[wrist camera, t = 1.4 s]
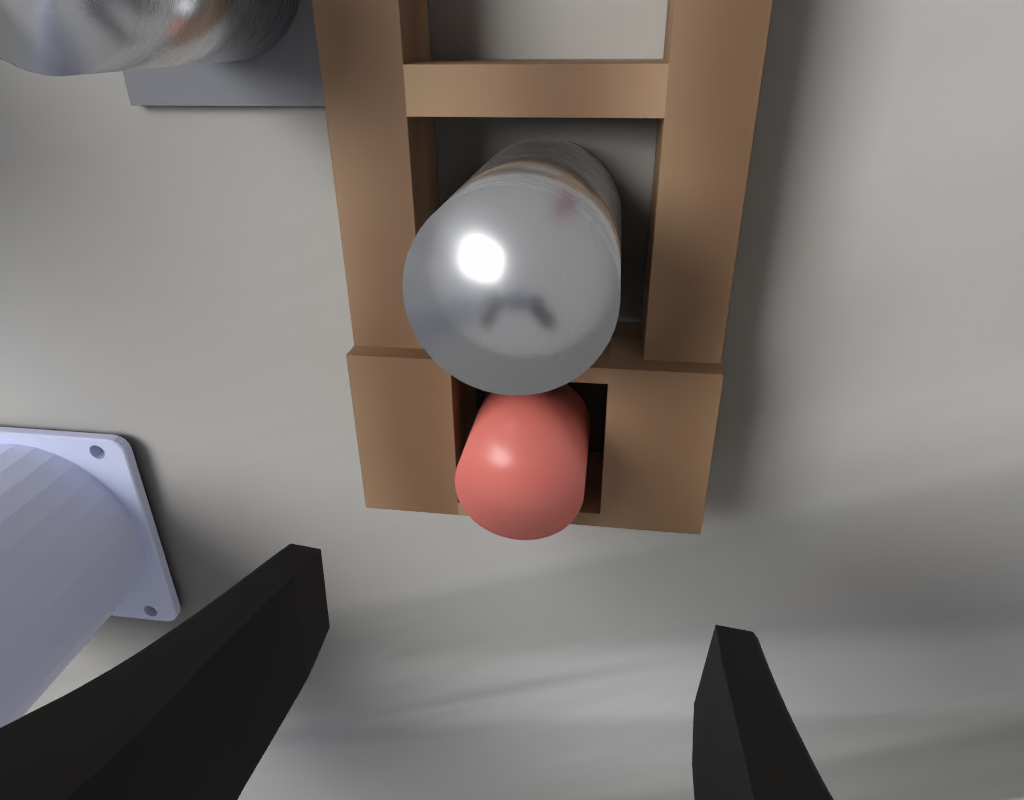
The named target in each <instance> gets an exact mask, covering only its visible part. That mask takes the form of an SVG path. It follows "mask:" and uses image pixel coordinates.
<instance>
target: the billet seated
mask: <svg viewBox="0 0 1024 800" xmlns="http://www.w3.org/2000/svg"><path fill="white" fill-rule="evenodd" d="M621 228H622V210H621V203H620V198H619V194H618V191H617V188H616V186H615V184H614V181H613V179H612V178H611V176H610V174H609V172H608V171H607V170H606V168H605V167H604V166H603V165H602V163H601V162H600V161H599V160H598V159H597V158H596V157H595V156H593V155H592V154H591V153H589V152H588V151H587V150H585V149H584V148H582V147H580V146H578V145H576V144H574V143H571V142H569V141H566V140H562V139H558V138H550V137H535V138H529V139H524V140H521V141H518V142H515V143H512V144H510V145H508V146H507V147H505V148H503V149H501V150H500V151H499V152H497V153H496V154H495V155H493V156H492V157H491V158H490V159H489V160H488V161H487V162H486V163H485V164H484V165H483V166H482V167H481V168H480V169H479V170H478V171H477V172H476V173H475V174H474V175H473V176H472V177H471V178H470V179H469V180H467V181H466V182H465V183H464V184H463V185H462V186H461V187H460V188H459V189H458V190H457V191H456V192H455V193H454V194H453V195H452V196H451V197H450V198H449V199H448V200H447V201H446V202H445V203H444V204H443V205H442V206H441V207H440V208H439V209H438V210H437V211H436V212H435V213H433V214H432V215H431V216H430V217H429V218H428V220H427V221H426V222H425V223H424V225H423V226H422V227H421V228H420V230H419V231H418V233H417V235H416V237H415V238H414V240H413V242H412V244H411V247H410V249H409V252H408V254H407V258H406V262H405V266H404V273H403V298H404V304H405V309H406V313H407V316H408V320H409V322H410V324H411V327H412V329H413V331H414V333H415V335H416V337H417V339H418V340H419V342H420V344H421V345H422V346H423V348H424V349H425V350H426V352H427V353H428V354H429V356H430V357H431V358H432V359H433V360H434V361H435V362H436V363H437V364H438V365H439V366H441V367H442V368H443V369H444V370H445V371H447V372H448V373H449V374H451V375H452V376H454V377H455V378H457V379H458V380H460V381H462V382H464V383H466V384H468V385H470V386H472V387H475V388H478V389H481V390H483V391H487V392H491V393H496V394H502V395H531V394H538V393H542V392H546V391H550V390H553V389H555V388H558V387H561V386H563V385H565V384H567V383H569V382H570V381H572V380H574V379H575V378H577V377H578V376H580V375H581V374H582V373H584V372H585V371H586V370H587V369H588V368H589V367H590V366H591V365H593V364H594V362H595V361H596V360H597V359H598V358H599V356H600V355H601V354H602V353H603V351H604V349H605V348H606V346H607V345H608V343H609V341H610V339H611V337H612V334H613V332H614V330H615V326H616V323H617V319H618V315H619V308H620V288H621Z"/></svg>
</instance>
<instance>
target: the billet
mask: <svg viewBox="0 0 1024 800" xmlns="http://www.w3.org/2000/svg"><path fill="white" fill-rule="evenodd" d="M299 2H300V0H0V59H2V60H4V61H6V62H8V63H10V64H12V65H14V66H16V67H19V68H22V69H24V70H27V71H30V72H34V73H38V74H43V75H50V76H69V75H81V74H92V73H104V72H116V71H127V70H139V69H151V68H163V67H174V66H186V65H198V64H209V63H221V62H233V61H244V60H249V59H253V58H256V57H258V56H260V55H263V54H264V53H266V52H267V51H269V50H271V49H272V48H273V47H274V46H275V45H276V44H278V43H279V42H280V40H281V39H282V38H283V37H284V36H285V34H286V33H287V31H288V30H289V28H290V26H291V24H292V22H293V20H294V18H295V15H296V13H297V9H298V5H299Z"/></svg>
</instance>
